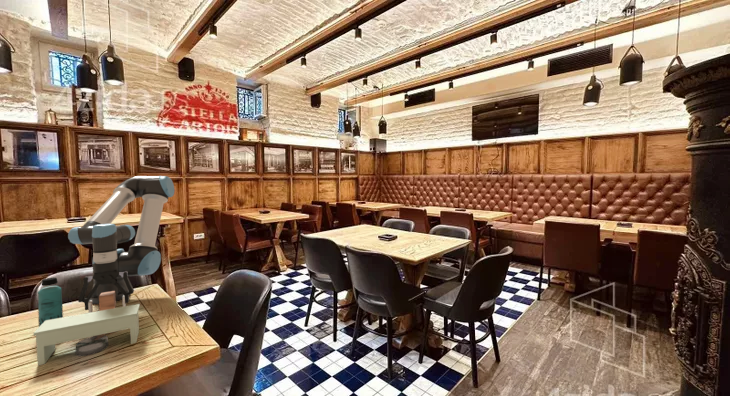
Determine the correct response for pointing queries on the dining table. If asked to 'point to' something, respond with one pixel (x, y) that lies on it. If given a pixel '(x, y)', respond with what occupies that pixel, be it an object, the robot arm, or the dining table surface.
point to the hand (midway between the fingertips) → (108, 314)
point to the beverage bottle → (49, 301)
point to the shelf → (85, 328)
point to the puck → (91, 345)
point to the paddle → (107, 301)
